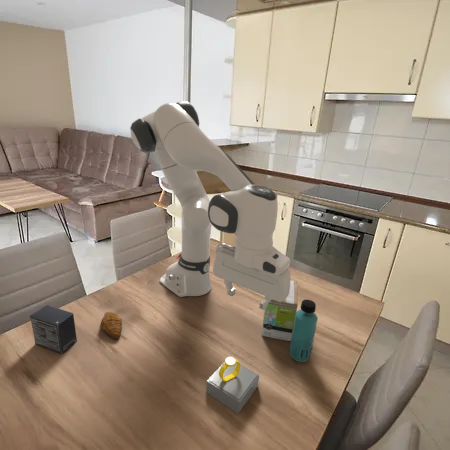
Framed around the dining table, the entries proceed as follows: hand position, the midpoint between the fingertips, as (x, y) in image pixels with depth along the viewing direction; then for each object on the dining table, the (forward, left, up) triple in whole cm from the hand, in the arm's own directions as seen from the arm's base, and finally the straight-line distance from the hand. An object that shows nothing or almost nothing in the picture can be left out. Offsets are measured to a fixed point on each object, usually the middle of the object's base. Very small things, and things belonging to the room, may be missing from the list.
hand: (246, 301), depth 78 cm
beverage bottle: (+12, +16, -24) cm, 31 cm away
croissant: (-43, -11, -24) cm, 51 cm away
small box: (-50, -25, -24) cm, 61 cm away
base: (+2, -6, -24) cm, 25 cm away
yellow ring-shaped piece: (+1, -7, -20) cm, 21 cm away
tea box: (0, +26, -24) cm, 35 cm away
